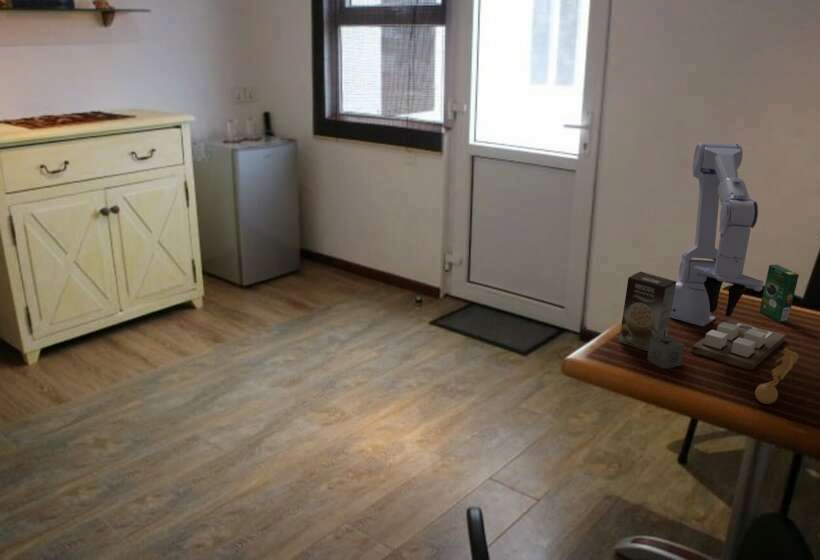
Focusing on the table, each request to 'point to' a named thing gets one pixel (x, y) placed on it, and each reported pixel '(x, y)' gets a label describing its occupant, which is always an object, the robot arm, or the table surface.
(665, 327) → the coffee box
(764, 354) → the board
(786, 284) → the coffee box
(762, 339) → the button
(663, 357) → the grey cube with symbol
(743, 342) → the button
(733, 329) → the button
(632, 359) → the table surface
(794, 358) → the figurine
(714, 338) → the button
